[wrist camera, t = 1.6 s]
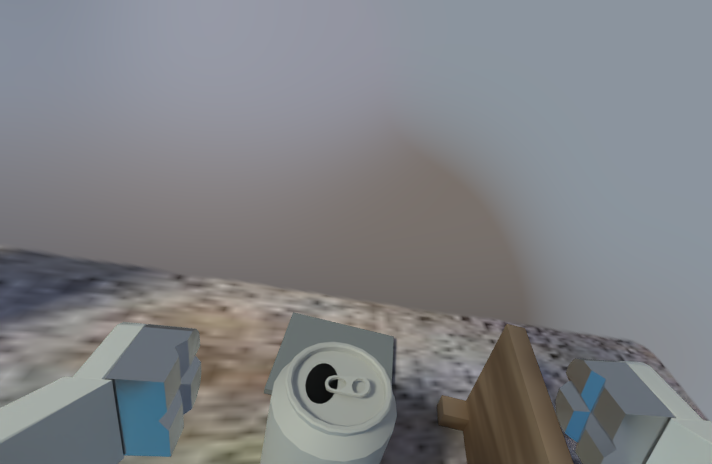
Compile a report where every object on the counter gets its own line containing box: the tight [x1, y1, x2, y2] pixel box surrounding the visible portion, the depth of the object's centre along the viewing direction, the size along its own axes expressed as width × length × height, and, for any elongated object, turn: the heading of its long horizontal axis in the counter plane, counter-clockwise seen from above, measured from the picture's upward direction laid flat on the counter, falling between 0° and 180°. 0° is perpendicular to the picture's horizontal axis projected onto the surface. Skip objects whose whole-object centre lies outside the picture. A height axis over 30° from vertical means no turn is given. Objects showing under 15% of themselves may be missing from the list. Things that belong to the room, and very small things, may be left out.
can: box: [260, 342, 397, 464], centre depth 26 cm, size 8×8×12 cm
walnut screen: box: [437, 324, 574, 464], centre depth 29 cm, size 6×14×11 cm, turn 173°
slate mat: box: [264, 312, 394, 395], centre depth 40 cm, size 11×10×1 cm
